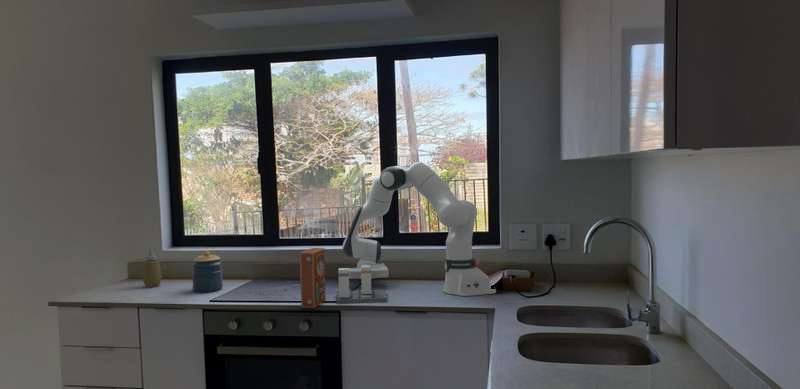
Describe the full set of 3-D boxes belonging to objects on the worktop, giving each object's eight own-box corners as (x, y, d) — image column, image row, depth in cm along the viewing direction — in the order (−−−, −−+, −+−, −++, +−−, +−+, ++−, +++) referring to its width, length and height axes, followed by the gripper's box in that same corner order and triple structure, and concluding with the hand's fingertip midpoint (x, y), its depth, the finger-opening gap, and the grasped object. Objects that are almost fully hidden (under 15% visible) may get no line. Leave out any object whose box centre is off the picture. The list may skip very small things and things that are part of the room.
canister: (219, 285, 230) (218, 248, 230) (226, 290, 219) (225, 251, 219) (190, 289, 223) (188, 250, 222) (195, 294, 212) (194, 254, 212)
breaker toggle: (371, 291, 203) (370, 265, 203) (371, 293, 199) (370, 267, 198) (361, 291, 203) (360, 265, 202) (361, 294, 199) (360, 267, 198)
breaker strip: (385, 293, 207) (384, 263, 207) (386, 301, 193) (386, 269, 193) (337, 295, 206) (336, 264, 205) (335, 303, 192) (334, 270, 191)
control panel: (328, 299, 199) (314, 309, 184) (312, 298, 200) (297, 308, 186) (327, 247, 198) (313, 253, 183) (311, 247, 200) (296, 252, 185)
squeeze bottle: (163, 286, 229) (162, 248, 228) (144, 289, 224) (142, 250, 224) (160, 283, 236) (159, 247, 235) (141, 286, 231) (140, 248, 230)
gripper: (343, 264, 225) (342, 270, 211) (387, 263, 227) (389, 268, 213) (343, 278, 225) (342, 284, 212) (387, 276, 227) (389, 282, 213)
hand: (366, 276), depth 212 cm, fingers closed
